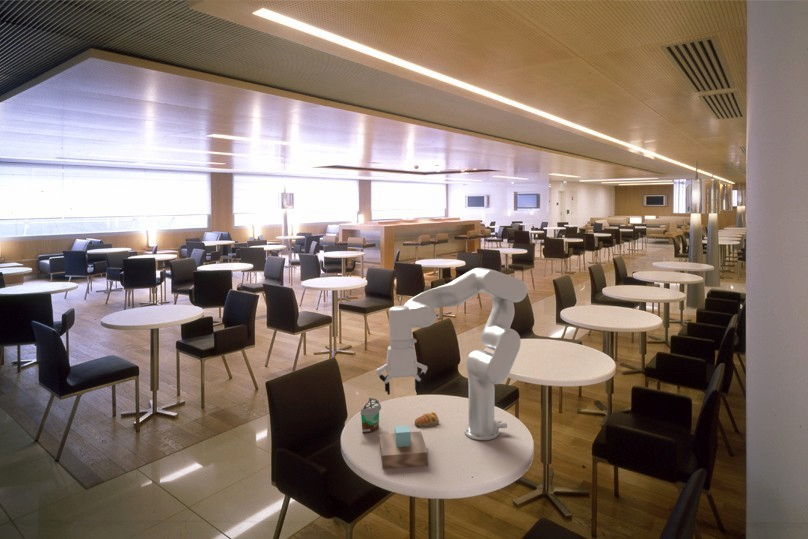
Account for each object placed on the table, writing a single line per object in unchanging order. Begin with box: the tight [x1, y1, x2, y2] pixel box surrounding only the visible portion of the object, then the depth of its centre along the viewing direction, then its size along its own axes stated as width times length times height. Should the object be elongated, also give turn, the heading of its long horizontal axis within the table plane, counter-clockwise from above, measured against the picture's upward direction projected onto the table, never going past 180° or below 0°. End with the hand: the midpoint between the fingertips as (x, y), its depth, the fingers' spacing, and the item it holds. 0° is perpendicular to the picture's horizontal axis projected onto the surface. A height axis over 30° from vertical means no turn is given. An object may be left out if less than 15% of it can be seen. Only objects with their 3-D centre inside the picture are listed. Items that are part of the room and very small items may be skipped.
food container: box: [360, 397, 382, 434], centre depth 184 cm, size 12×6×10 cm, turn 168°
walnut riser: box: [378, 430, 429, 470], centre depth 164 cm, size 15×15×4 cm
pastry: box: [414, 411, 440, 428], centre depth 188 cm, size 9×7×4 cm
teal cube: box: [394, 425, 412, 447], centre depth 163 cm, size 5×5×5 cm
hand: (402, 392), depth 162 cm, fingers open, 9 cm apart
